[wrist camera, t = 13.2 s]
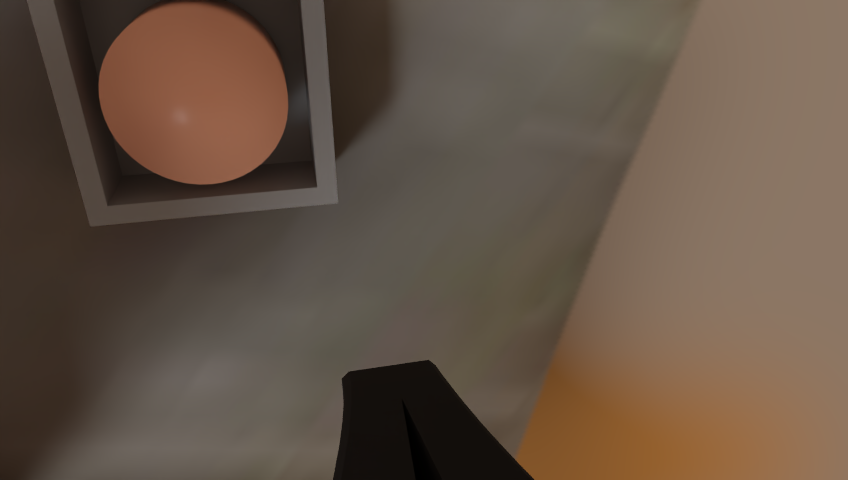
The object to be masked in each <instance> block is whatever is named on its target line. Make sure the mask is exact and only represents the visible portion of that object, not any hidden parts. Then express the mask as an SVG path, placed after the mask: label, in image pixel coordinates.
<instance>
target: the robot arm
mask: <svg viewBox="0 0 848 480" xmlns="http://www.w3.org/2000/svg"><path fill="white" fill-rule="evenodd" d="M342 386H343V399H344V408H343V422H342V430H341V438H340V445H339V451H338V456H337V461H336V467H335V472H334V477H333V480H534V479H533V478H532V477H531V476H530V475H529V474H528V473H527V472H526V471H525V470H524V469H523V468H522V467H521V466H520V465H519V464H518V462H517V461H516V460H515V459H514V458H513V457H512V456H511V455H510V454H509V453H508V452H507V451H506V450H505V448H504V447H503V446H502V445H501V444H500V443H499V442H498V441H497V440H496V439H495V438H494V437H493V436H492V434H491V433H490V432H489V431H488V430H487V429H486V428H485V427H484V425H483V424H482V423H481V422H480V421H479V420H478V419H477V417H476V416H475V415H474V414H473V413H472V411H471V410H470V409H469V408H468V407H467V406H466V404H465V403H464V402H463V401H462V399H461V398H460V397H459V396H458V394H457V393H456V392H455V391H454V389H453V388H452V387H451V386H450V384H449V383H448V382H447V380H446V379H445V378H444V376H443V375H442V374H441V372H440V371H439V370H438V368H437V367H436V365H434V364H433V363H432V362H430V361H429V360H425V361H418V362H411V363H405V364H398V365H391V366H384V367H377V368H370V369H363V370H357V371H350V372H348V373H347V374H346V375H345V376H344V377H343V378H342Z"/></svg>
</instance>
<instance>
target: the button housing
mask: <svg viewBox="0 0 848 480" xmlns="http://www.w3.org/2000/svg"><path fill="white" fill-rule="evenodd" d="M159 1H162V0H27V4H28V7H29V11H30V14H31V18H32V22H33V25H34V29H35V32H36V36H37V39H38V43H39V46H40V50H41V54H42V57H43V61H44V64H45V68H46V71H47V75H48V78H49V82H50V86H51V89H52V93H53V96H54V100H55V103H56V107H57V110H58V114H59V117H60V121H61V125H62V128H63V132H64V135H65V139H66V142H67V146H68V149H69V153H70V157H71V160H72V164H73V167H74V171H75V174H76V178H77V181H78V185H79V189H80V192H81V196H82V199H83V203H84V206H85V210H86V213H87V217H88V221H89V224H90V227H93V226H103V225H114V224H124V223H135V222H146V221H156V220H167V219H177V218H188V217H198V216H209V215H219V214H230V213H241V212H251V211H262V210H272V209H283V208H293V207H304V206H314V205H325V204H336V203H338V193H337V179H336V165H335V151H334V138H333V124H332V110H331V96H330V82H329V68H328V54H327V41H326V27H325V13H324V0H225V1H227V2H229V3H232V4H234V5H236V6H238V7H239V8H241V9H243V10H244V11H246V12H247V13H248V14H250V15H251V16H252V17H254V18H255V19H256V20H257V21H258V22H259V23H260V24H261V25H262V26H263V27H264V28H265V30H266V31H267V32H268V33H269V35H270V36H271V38H272V40H273V41H274V43H275V44H276V47H277V49H278V51H279V53H280V56H281V59H282V62H283V66H284V72H285V79H286V86H287V93H288V115H287V121H286V125H285V129H284V132H283V134H282V137H281V139H280V141H279V143H278V144H277V146H276V148H275V149H274V150H273V152H272V153H271V154H270V156H269V157H268V158H267V159H266V160H265V161H264V162H263V163H262V164H260V165H259V166H258V167H256V168H255V169H254V170H252V171H251V172H249V173H247V174H245V175H244V176H241V177H239V178H236V179H234V180H230V181H227V182H223V183H216V184H202V185H199V184H188V183H183V182H178V181H174V180H171V179H168V178H165V177H163V176H160V175H158V174H156V173H154V172H152V171H150V170H149V169H147V168H145V167H144V166H142V165H141V164H140V163H138V162H137V161H136V160H134V159H133V158H132V157H131V156H130V155H129V154H128V153H127V152H126V151H125V150H124V149H123V148H122V147H121V146H120V144H119V143H118V142H117V141H116V139H115V138H114V136H113V134H112V133H111V131H110V130H109V127H108V125H107V123H106V121H105V119H104V116H103V112H102V109H101V105H100V99H99V76H100V70H101V67H102V63H103V60H104V58H105V56H106V53H107V51H108V49H109V48H110V46H111V45H112V43H113V42H114V40H115V39H116V38H117V37H118V36H119V35H120V34H121V32H122V31H123V30H124V29H125V28H126V27H127V26H128V25H129V24H130V23H131V22H132V21H133V20H134V19H135V18H136V17H137V16H138V15H139V14H140V13H142V12H143V11H144V10H145V9H146V8H148V7H150V6H151V5H153V4H155V3H157V2H159Z"/></svg>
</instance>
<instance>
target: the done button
mask: <svg viewBox="0 0 848 480" xmlns="http://www.w3.org/2000/svg"><path fill="white" fill-rule="evenodd" d="M99 99H100V105H101V109H102V112H103V116H104V119H105V121H106V123H107V125H108V127H109V130H110V131H111V133H112V134H113V136H114V138H115V139H116V141H117V142H118V143H119V144H120V146H121V147H122V148H123V149H124V150H125V151H126V152H127V153H128V154H129V155H130V156H131V157H132V158H133V159H134V160H136V161H137V162H138V163H140V164H141V165H142V166H144V167H145V168H147V169H149V170H150V171H152V172H154V173H156V174H158V175H160V176H163V177H165V178H168V179H171V180H174V181H178V182H183V183H188V184H199V185H202V184H216V183H223V182H227V181H230V180H234V179H236V178H239V177H241V176H244V175H245V174H247V173H249V172H251V171H252V170H254V169H255V168H256V167H258V166H259V165H260V164H262V163H263V162H264V161H265V160H266V159H267V158H268V157H269V156H270V154H271V153H272V152H273V150H274V149H275V148H276V146H277V144H278V143H279V141H280V139H281V137H282V134H283V132H284V129H285V125H286V121H287V115H288V93H287V86H286V79H285V72H284V66H283V62H282V59H281V56H280V53H279V51H278V49H277V47H276V44H275V43H274V41H273V40H272V38H271V36H270V35H269V33H268V32H267V31H266V30H265V28H264V27H263V26H262V25H261V24H260V23H259V22H258V21H257V20H256V19H255V18H254V17H252V16H251V15H250V14H248V13H247V12H246V11H244V10H243V9H241V8H239V7H238V6H236V5H234V4H232V3H229V2H227V1H225V0H162V1H159V2H157V3H155V4H153V5H151V6H150V7H148V8H146V9H145V10H144V11H143V12H142V13H140V14H139V15H138V16H137V17H136V18H135V19H134V20H133V21H132V22H131V23H130V24H129V25H128V26H127V27H126V28H125V29H124V30H123V31H122V32H121V34H120V35H119V36H118V37H117V38H116V39H115V40H114V42H113V43H112V45H111V46H110V48H109V49H108V51H107V53H106V56H105V58H104V60H103V63H102V67H101V70H100V76H99Z"/></svg>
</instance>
